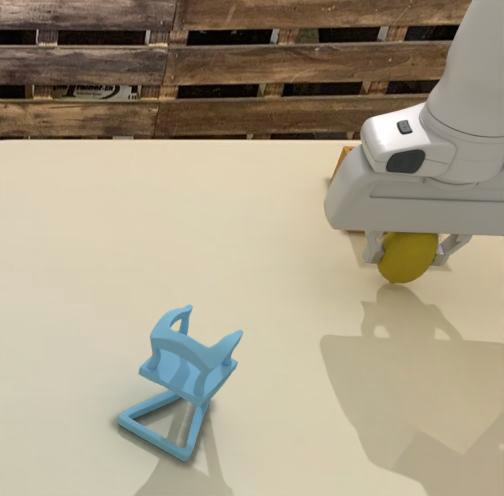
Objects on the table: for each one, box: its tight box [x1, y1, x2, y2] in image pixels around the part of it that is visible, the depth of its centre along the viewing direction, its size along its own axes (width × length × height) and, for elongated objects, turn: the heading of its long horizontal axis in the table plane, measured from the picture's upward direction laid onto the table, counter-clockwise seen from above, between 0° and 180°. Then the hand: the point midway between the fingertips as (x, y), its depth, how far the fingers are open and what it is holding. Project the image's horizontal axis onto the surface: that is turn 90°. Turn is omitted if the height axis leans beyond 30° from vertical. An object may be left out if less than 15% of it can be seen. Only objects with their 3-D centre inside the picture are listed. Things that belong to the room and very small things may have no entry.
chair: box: [117, 304, 244, 462], centre depth 82 cm, size 8×8×12 cm
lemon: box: [376, 232, 439, 285], centre depth 96 cm, size 6×6×8 cm
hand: (401, 261), depth 97 cm, fingers closed on lemon, 5 cm apart
